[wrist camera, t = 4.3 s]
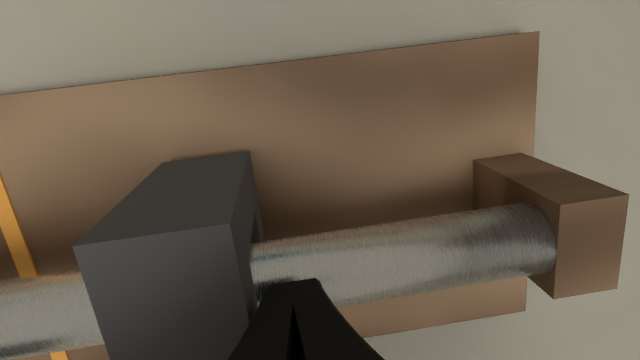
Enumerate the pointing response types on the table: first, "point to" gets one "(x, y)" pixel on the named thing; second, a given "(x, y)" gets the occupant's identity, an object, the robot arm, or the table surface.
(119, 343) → the collar
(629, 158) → the table surface
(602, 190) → the pipe stand
